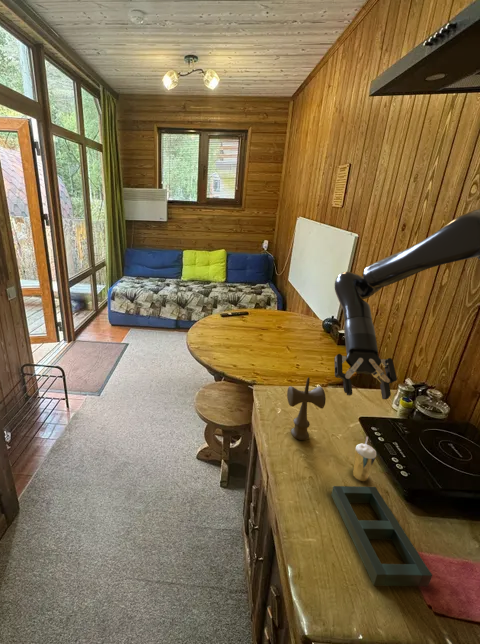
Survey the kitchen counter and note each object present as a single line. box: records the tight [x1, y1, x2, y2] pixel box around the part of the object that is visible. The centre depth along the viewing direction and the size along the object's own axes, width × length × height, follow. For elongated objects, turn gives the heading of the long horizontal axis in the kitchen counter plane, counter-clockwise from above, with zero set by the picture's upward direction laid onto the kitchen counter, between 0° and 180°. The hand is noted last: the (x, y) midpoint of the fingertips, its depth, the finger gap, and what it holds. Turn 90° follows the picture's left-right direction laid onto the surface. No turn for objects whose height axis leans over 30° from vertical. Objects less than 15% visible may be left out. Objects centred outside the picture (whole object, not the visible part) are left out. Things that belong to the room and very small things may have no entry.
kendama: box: [286, 376, 327, 441], centre depth 89 cm, size 6×10×20 cm, turn 88°
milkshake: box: [352, 436, 377, 482], centre depth 78 cm, size 4×5×10 cm
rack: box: [330, 485, 433, 587], centre depth 64 cm, size 10×18×3 cm, turn 0°
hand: (367, 396), depth 78 cm, fingers open, 8 cm apart
